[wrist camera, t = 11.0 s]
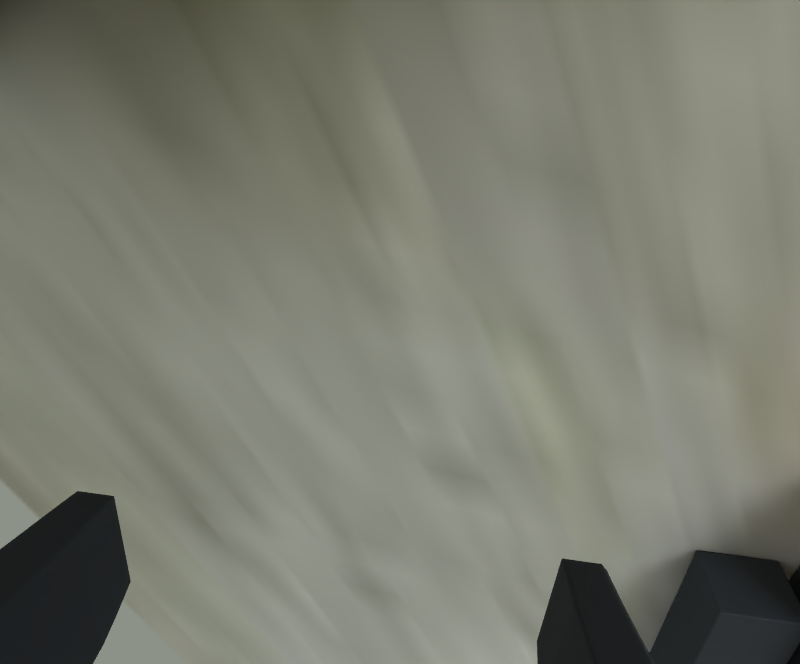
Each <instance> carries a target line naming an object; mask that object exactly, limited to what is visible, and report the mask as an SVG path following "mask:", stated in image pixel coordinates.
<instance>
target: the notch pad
mask: <svg viewBox="0 0 800 664" xmlns="http://www.w3.org/2000/svg"><path fill="white" fill-rule="evenodd" d="M799 644H800V603H799V601H798V599H797V597H796V595H795V593H794V591H793V589H792V587H791V585H790V583H789V581H788V579H787V577H786V575H785V573H784V571H783V569H782V567H781V565H780V563H779V562H777V561H770V560H763V559H756V558H748V557H741V556H734V555H726V554H719V553H712V552H705V551H696V553H695V555H694V557H693V559H692V562H691V564H690V566H689V568H688V570H687V573H686V575H685V577H684V579H683V582H682V584H681V586H680V588H679V590H678V593H677V595H676V597H675V599H674V601H673V604H672V606H671V608H670V610H669V612H668V615H667V617H666V619H665V621H664V624H663V626H662V628H661V630H660V632H659V635H658V637H657V639H656V641H655V643H654V646H653V648H652V650H651V652H650V656H651V658H652V660H653V662H654V663H655V664H787V663H788V661H789V660H790V658H791V656H792V655H793V653H794V652H795V650H796V649H797V647H798V645H799Z"/></svg>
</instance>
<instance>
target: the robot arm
mask: <svg viewBox="0 0 800 664" xmlns="http://www.w3.org/2000/svg"><path fill="white" fill-rule="evenodd" d="M129 584H130V576H129V571H128V566H127V560H126V555H125V550H124V545H123V540H122V535H121V530H120V525H119V520H118V515H117V510H116V505H115V499H114V496H109V495H101V494H94V493H87V492H80V491H77V492H76V493H75V494H73V495H72V496H70V497H69V498H68V499H66V500H65V501H64V502H62V503H61V504H60V505H58V506H57V507H56V508H54V509H53V510H52V511H50V512H49V513H48V514H46V515H45V516H44V517H42V518H41V519H40V520H38V521H37V522H36V523H34V524H33V525H32V526H30V527H29V528H28V529H27V530H25V531H24V532H23V533H21V534H20V535H19V536H17V537H16V538H15V539H13V540H12V541H11V542H10V543H8V544H7V545H5V546H4V547H3V548H1V549H0V664H93V662H94V660H95V659H96V657H97V655H98V653H99V651H100V650H101V648H102V646H103V644H104V642H105V639H106V637H107V635H108V633H109V631H110V628H111V626H112V624H113V622H114V620H115V617H116V615H117V613H118V610H119V608H120V605H121V603H122V601H123V598H124V596H125V593H126V591H127V589H128V586H129ZM537 657H538V664H655V663H654V662H653V660H652V658H651V656H650V654H649V652H648V651H647V649H646V647H645V645H644V643H643V641H642V639H641V637H640V636H639V634H638V632H637V630H636V628H635V626H634V624H633V622H632V620H631V618H630V617H629V615H628V613H627V611H626V609H625V607H624V605H623V603H622V601H621V599H620V597H619V595H618V593H617V591H616V589H615V587H614V585H613V583H612V581H611V578H610V576H609V574H608V572H607V570H606V569H605V568H604V567H603V565H602V564H597V563H590V562H582V561H575V560H568V559H562V560H561V563H560V567H559V570H558V573H557V577H556V580H555V583H554V587H553V590H552V593H551V597H550V600H549V603H548V606H547V610H546V613H545V616H544V620H543V623H542V626H541V630H540V633H539V636H538V640H537Z"/></svg>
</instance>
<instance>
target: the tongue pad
mask: <svg viewBox="0 0 800 664" xmlns="http://www.w3.org/2000/svg"><path fill="white" fill-rule="evenodd" d="M790 585H791V587H792V589H793V591H794V593H795V595H796V597H797V599H798V601H799V603H800V567H799V568H798V570H797V572H796V574H795V575H794V577H793V579H792V581H791V582H790ZM787 664H800V644H799V645H798V647H797V649H796V650H795V652H794V653H793V655H792V656H791V658H790V660H789V661H788V663H787Z"/></svg>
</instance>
